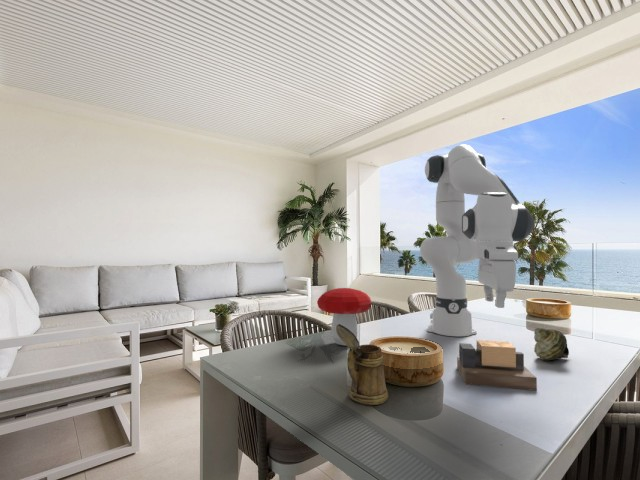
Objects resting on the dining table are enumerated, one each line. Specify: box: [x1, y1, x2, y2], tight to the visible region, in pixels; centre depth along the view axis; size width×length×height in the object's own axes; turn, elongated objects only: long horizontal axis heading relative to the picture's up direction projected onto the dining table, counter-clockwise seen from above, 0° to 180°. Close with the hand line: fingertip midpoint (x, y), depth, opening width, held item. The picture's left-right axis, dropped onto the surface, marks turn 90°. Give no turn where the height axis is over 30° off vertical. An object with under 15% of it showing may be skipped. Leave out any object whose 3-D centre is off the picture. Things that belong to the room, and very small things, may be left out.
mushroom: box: [316, 287, 372, 346], centre depth 120 cm, size 20×19×20 cm
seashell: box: [533, 327, 570, 361], centre depth 103 cm, size 11×11×10 cm
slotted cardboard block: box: [475, 339, 517, 368], centre depth 89 cm, size 6×8×5 cm
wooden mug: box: [336, 324, 389, 406], centre depth 76 cm, size 9×14×18 cm, turn 127°
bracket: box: [456, 342, 538, 391], centre depth 89 cm, size 12×16×8 cm
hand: (494, 304), depth 89 cm, fingers open, 8 cm apart
